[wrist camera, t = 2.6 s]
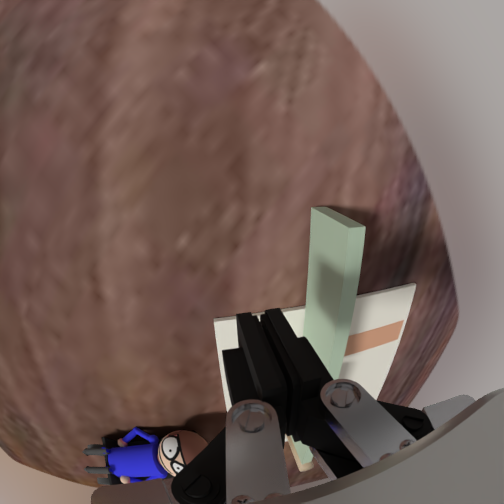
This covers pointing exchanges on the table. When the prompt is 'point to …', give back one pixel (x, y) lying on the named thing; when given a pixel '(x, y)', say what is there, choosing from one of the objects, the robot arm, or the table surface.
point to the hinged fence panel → (332, 284)
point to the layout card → (359, 340)
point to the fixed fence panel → (301, 454)
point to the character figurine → (145, 456)
